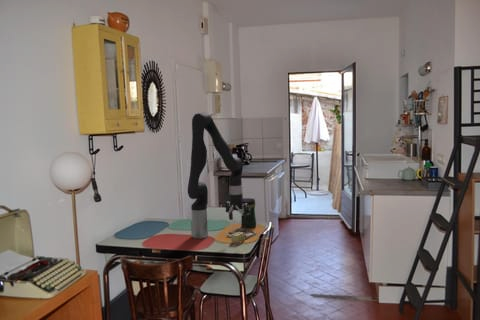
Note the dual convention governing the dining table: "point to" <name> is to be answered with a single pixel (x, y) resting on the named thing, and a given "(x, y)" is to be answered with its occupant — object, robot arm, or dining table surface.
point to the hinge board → (246, 233)
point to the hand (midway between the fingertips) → (237, 220)
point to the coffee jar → (249, 213)
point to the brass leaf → (237, 237)
